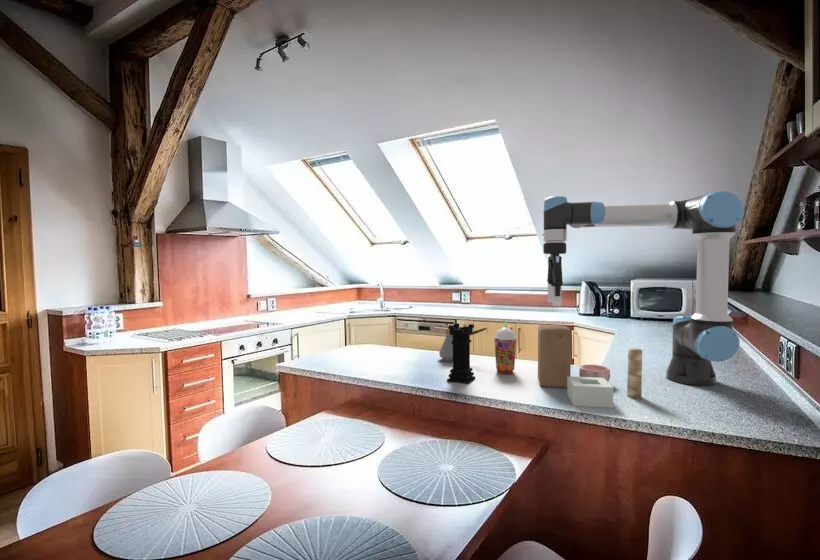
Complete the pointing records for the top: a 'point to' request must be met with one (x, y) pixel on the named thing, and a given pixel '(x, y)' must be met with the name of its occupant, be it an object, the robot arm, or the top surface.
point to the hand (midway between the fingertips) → (554, 304)
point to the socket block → (590, 392)
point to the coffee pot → (451, 346)
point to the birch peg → (634, 373)
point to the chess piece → (461, 354)
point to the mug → (594, 371)
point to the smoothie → (505, 350)
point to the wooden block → (554, 355)
